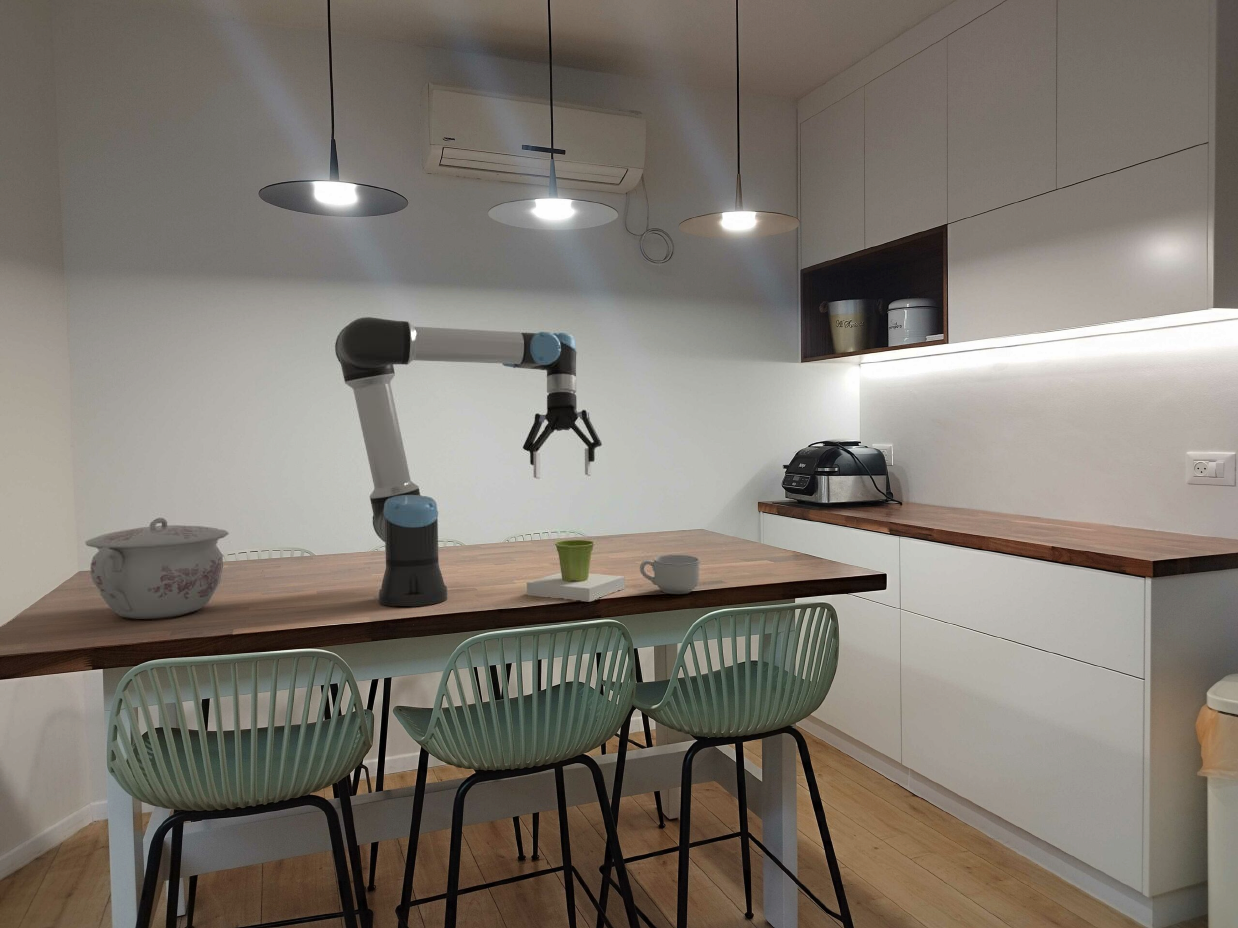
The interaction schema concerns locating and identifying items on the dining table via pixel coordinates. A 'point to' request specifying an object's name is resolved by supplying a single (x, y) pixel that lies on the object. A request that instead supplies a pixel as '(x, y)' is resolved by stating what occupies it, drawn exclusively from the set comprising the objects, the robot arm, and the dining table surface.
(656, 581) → the teacup
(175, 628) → the dining table surface
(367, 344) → the robot arm
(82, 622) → the dining table surface
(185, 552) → the chamber pot
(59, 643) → the dining table surface
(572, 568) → the plant pot
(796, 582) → the dining table surface
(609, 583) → the plinth
